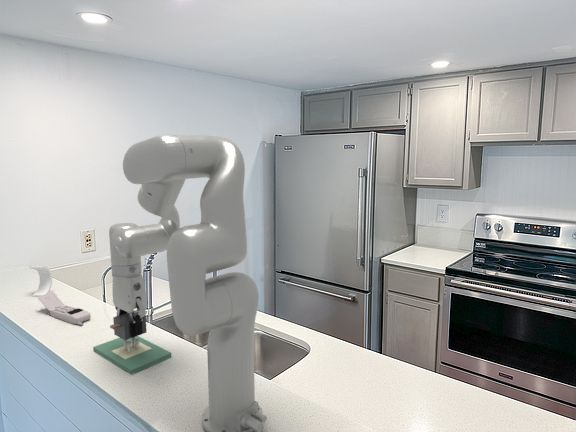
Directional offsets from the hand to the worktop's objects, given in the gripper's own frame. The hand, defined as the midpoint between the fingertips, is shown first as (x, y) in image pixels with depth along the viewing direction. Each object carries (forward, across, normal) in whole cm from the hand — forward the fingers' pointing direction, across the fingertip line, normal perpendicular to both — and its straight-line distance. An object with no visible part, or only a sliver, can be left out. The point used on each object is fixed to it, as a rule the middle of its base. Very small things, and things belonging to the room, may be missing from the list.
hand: (130, 331), depth 117 cm
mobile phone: (+7, +42, 0) cm, 43 cm away
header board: (+6, 0, 0) cm, 6 cm away
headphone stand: (+7, +72, -4) cm, 72 cm away
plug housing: (0, 0, 0) cm, 0 cm away
